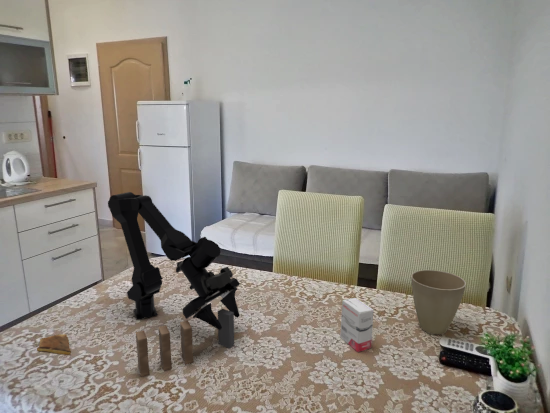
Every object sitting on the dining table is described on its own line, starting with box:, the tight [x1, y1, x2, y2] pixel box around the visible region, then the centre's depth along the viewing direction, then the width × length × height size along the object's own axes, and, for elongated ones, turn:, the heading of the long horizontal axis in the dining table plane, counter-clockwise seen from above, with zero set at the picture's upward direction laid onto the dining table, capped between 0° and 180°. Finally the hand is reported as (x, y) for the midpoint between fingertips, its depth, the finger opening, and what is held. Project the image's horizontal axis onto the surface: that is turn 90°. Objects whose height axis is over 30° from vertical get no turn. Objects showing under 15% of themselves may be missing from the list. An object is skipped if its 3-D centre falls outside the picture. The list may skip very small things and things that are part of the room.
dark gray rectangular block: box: [217, 308, 235, 349], centre depth 111 cm, size 2×4×10 cm, turn 58°
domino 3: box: [179, 319, 194, 365], centre depth 104 cm, size 2×4×10 cm, turn 27°
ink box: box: [340, 297, 374, 353], centre depth 112 cm, size 8×5×12 cm, turn 26°
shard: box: [36, 333, 72, 356], centre depth 109 cm, size 11×8×2 cm
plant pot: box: [410, 269, 467, 335], centre depth 120 cm, size 15×15×16 cm
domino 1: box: [135, 329, 150, 378], centre depth 99 cm, size 2×4×10 cm, turn 27°
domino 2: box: [158, 324, 173, 371], centre depth 102 cm, size 2×4×10 cm, turn 27°
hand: (229, 322), depth 110 cm, fingers open, 7 cm apart
